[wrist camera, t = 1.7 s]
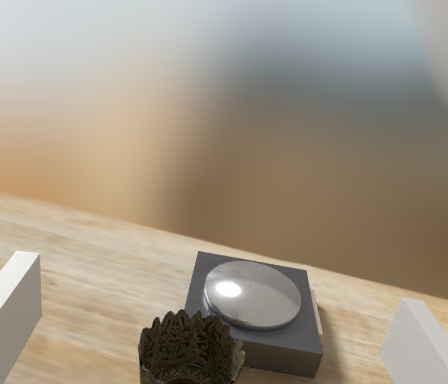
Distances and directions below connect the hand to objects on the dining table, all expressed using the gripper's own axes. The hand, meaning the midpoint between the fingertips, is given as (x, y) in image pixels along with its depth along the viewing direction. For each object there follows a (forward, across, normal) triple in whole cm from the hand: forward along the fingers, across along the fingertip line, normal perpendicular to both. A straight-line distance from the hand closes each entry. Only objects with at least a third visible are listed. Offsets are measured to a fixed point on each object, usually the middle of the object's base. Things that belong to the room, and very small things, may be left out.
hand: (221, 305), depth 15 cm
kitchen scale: (+22, +6, -20) cm, 30 cm away
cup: (+10, 0, -20) cm, 22 cm away
